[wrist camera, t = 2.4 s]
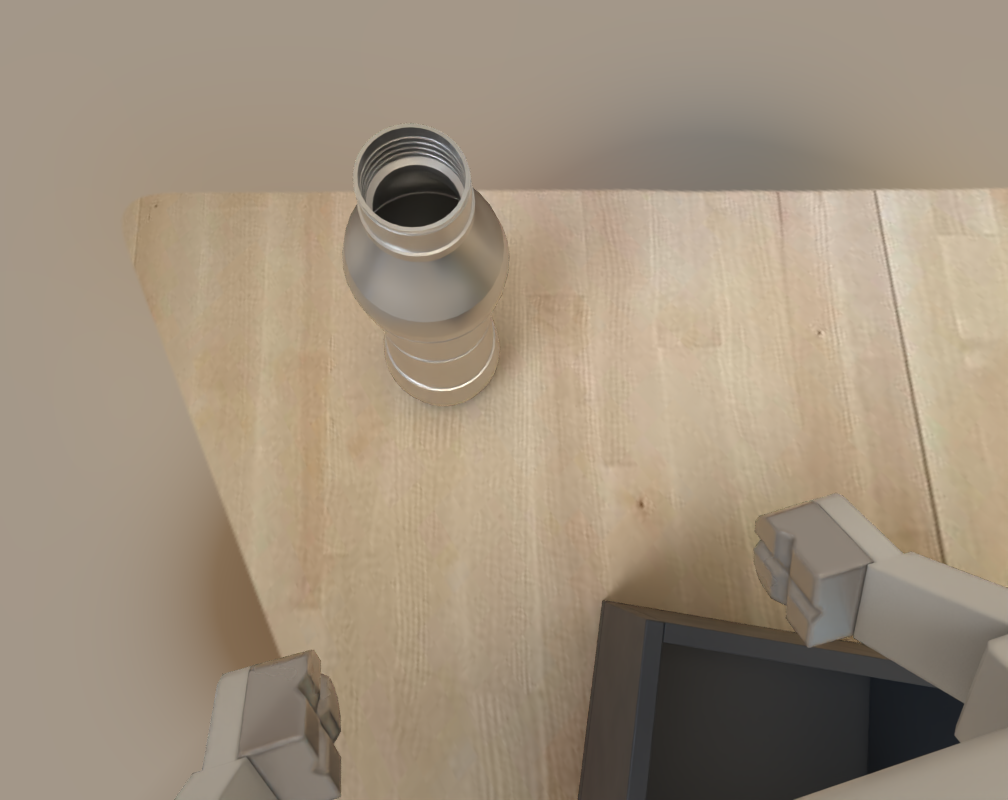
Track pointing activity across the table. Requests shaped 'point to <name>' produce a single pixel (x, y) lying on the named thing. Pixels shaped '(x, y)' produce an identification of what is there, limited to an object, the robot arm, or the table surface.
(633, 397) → the table surface
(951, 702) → the waste bin
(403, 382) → the silver bottle
